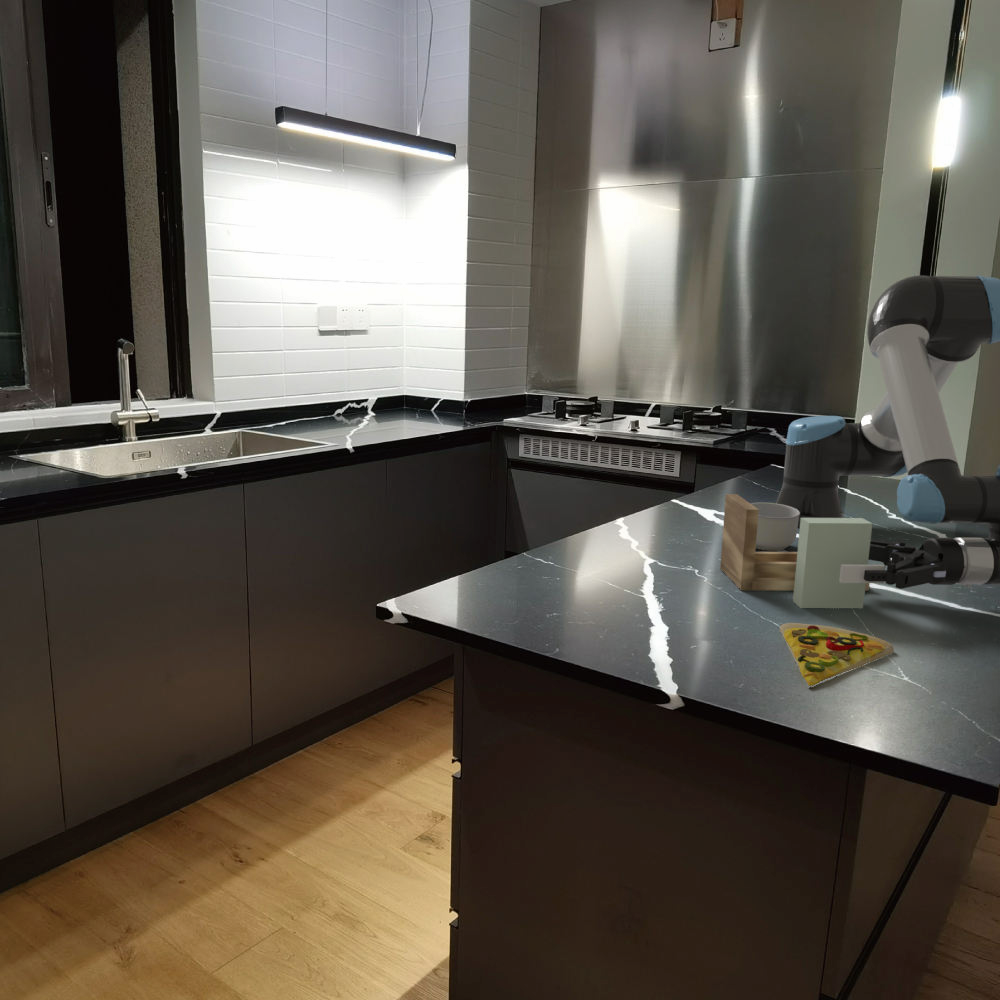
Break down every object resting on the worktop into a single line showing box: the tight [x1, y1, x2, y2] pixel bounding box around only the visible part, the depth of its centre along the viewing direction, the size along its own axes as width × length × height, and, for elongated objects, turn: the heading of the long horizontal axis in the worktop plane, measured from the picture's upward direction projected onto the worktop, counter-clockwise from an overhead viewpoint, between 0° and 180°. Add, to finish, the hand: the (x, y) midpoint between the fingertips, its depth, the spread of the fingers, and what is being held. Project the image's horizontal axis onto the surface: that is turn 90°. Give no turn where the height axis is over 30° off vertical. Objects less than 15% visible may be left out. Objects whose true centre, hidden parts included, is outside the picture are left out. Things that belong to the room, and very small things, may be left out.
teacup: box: [750, 502, 800, 552], centre depth 172 cm, size 14×11×8 cm
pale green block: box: [792, 517, 873, 610], centre depth 138 cm, size 10×4×14 cm, turn 92°
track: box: [719, 493, 871, 592], centre depth 150 cm, size 22×12×14 cm, turn 92°
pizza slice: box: [779, 622, 895, 686], centre depth 117 cm, size 16×21×3 cm
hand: (822, 560), depth 137 cm, fingers open, 13 cm apart
